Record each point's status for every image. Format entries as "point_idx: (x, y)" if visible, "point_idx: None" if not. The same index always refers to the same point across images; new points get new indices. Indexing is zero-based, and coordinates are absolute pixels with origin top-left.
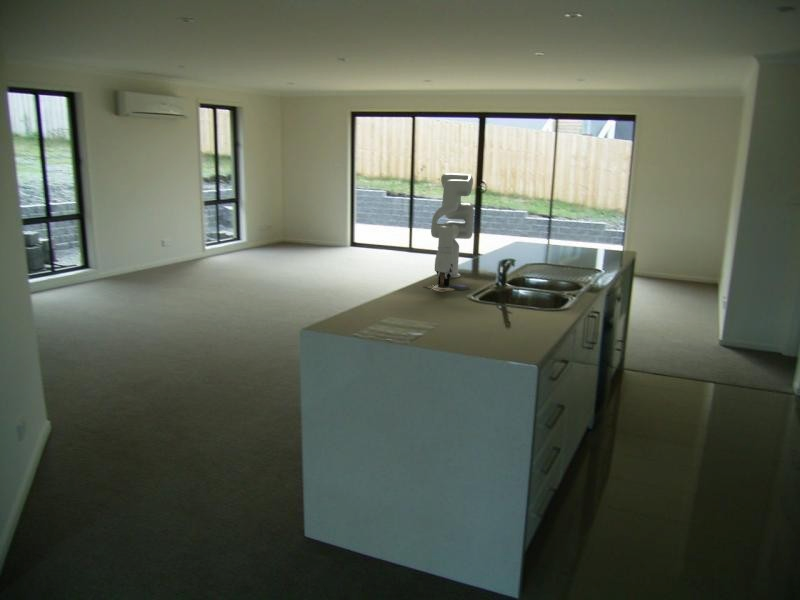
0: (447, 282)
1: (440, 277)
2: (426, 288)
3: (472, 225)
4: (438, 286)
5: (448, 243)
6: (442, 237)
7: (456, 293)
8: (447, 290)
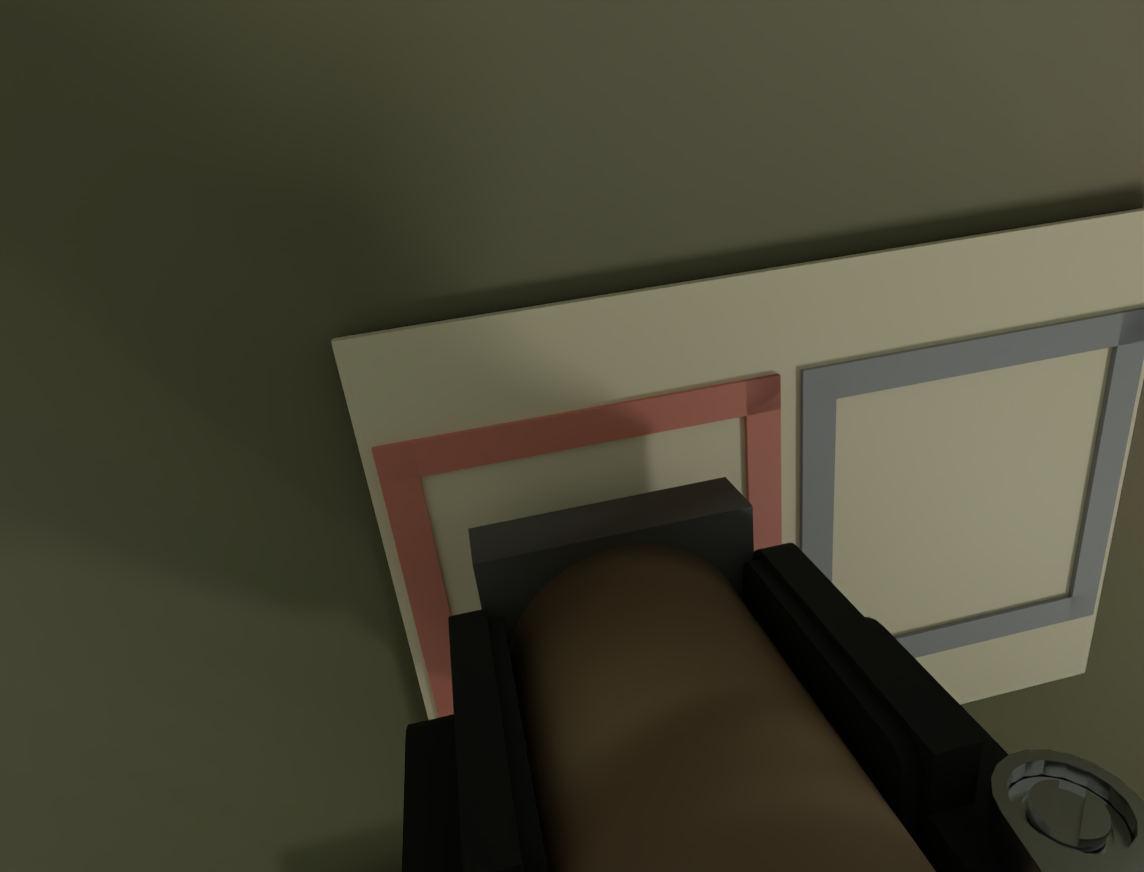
0: (415, 808)
1: (841, 787)
2: (1003, 229)
3: None
4: (709, 491)
5: None
6: None
7: (37, 692)
8: (410, 609)
